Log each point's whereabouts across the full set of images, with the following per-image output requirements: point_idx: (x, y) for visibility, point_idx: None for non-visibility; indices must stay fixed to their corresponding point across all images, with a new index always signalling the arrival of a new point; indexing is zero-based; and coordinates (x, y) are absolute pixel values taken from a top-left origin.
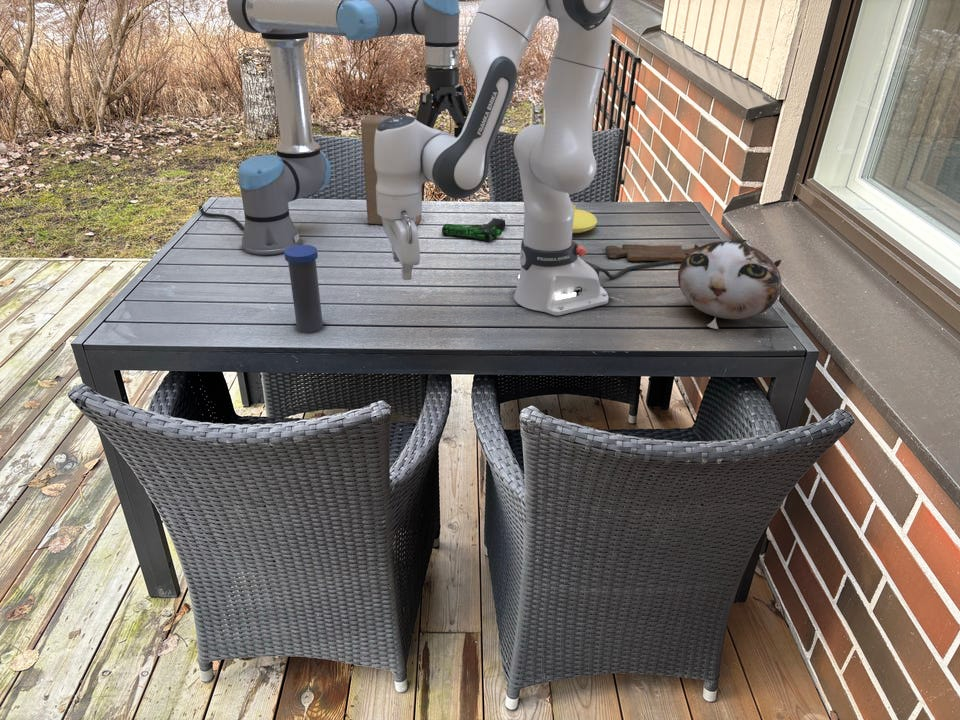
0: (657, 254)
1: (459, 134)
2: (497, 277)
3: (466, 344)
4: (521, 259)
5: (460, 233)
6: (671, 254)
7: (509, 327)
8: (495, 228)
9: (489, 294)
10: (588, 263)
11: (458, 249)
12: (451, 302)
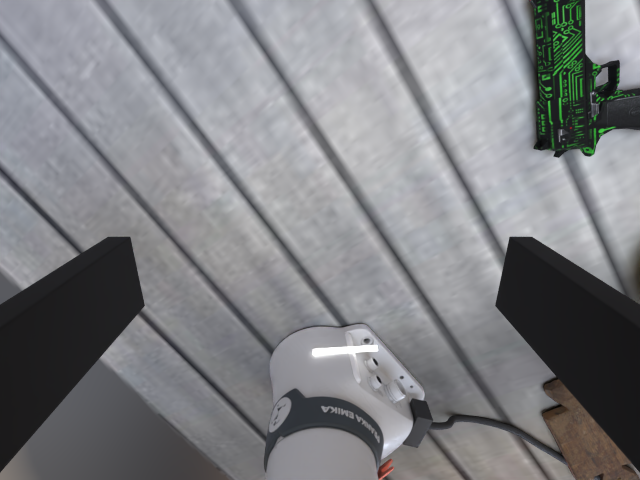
0: (579, 447)
1: (615, 386)
2: (355, 267)
3: (110, 352)
4: (281, 407)
5: (541, 57)
6: (588, 462)
7: (199, 373)
8: (599, 137)
9: (279, 293)
10: (422, 430)
11: (454, 104)
12: (205, 257)
